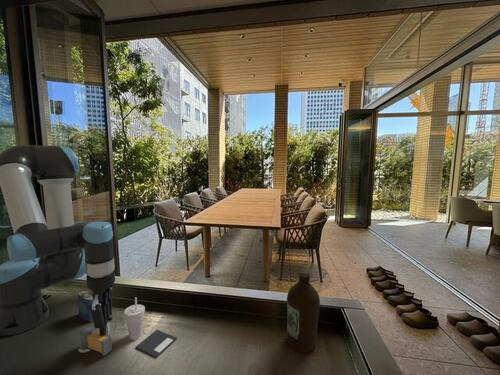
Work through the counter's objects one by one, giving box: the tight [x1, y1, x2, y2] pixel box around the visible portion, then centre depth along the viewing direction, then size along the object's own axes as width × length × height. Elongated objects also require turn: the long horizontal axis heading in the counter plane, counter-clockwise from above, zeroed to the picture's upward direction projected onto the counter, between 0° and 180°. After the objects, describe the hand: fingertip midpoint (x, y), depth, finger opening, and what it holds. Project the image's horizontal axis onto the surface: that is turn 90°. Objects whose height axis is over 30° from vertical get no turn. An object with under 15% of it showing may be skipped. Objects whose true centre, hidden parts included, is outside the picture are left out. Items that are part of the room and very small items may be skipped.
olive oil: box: [286, 268, 321, 354], centre depth 82 cm, size 11×11×25 cm
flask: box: [77, 290, 94, 323], centre depth 93 cm, size 9×3×11 cm, turn 61°
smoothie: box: [123, 296, 146, 341], centre depth 84 cm, size 6×6×14 cm
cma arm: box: [79, 326, 113, 356], centre depth 78 cm, size 11×4×5 cm, turn 69°
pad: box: [135, 329, 178, 359], centre depth 81 cm, size 9×9×1 cm
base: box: [77, 345, 94, 354], centre depth 79 cm, size 5×5×1 cm
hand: (105, 341), depth 79 cm, fingers closed
